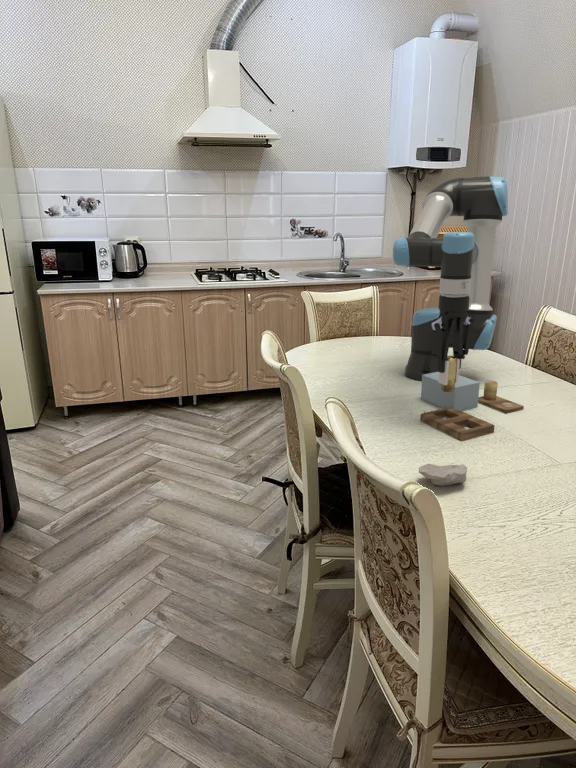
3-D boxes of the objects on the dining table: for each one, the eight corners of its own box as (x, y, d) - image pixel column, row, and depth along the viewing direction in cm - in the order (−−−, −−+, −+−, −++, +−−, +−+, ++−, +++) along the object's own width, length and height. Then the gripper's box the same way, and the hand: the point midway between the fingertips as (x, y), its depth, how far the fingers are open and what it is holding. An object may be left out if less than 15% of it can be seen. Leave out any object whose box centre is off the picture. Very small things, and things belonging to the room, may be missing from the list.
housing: (420, 398, 170) (422, 374, 167) (443, 393, 174) (445, 370, 171) (453, 412, 158) (455, 387, 155) (477, 407, 161) (479, 382, 159)
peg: (437, 389, 149) (439, 356, 147) (447, 387, 151) (450, 355, 148) (447, 392, 146) (449, 359, 144) (457, 390, 148) (459, 358, 145)
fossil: (410, 465, 121) (449, 443, 122) (421, 489, 122) (459, 467, 124) (429, 480, 112) (471, 456, 113) (440, 505, 114) (481, 482, 115)
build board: (420, 420, 153) (420, 413, 152) (450, 413, 157) (451, 406, 157) (461, 440, 139) (462, 433, 138) (493, 432, 144) (494, 425, 143)
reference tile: (474, 401, 166) (476, 382, 164) (491, 397, 169) (493, 378, 167) (505, 413, 156) (508, 393, 154) (523, 409, 159) (525, 389, 157)
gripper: (440, 299, 134) (434, 391, 141) (488, 293, 141) (481, 381, 148) (419, 295, 141) (415, 383, 148) (467, 290, 147) (460, 374, 155)
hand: (448, 382), depth 148 cm, fingers closed on peg, 3 cm apart
